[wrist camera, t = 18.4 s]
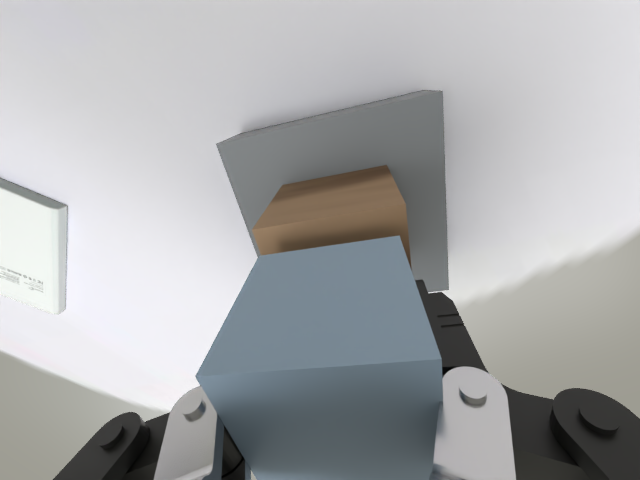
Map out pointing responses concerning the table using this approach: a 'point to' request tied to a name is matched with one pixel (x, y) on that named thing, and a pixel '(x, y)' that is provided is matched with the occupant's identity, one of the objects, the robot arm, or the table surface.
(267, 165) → the base plinth
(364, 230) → the walnut cube
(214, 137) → the table surface
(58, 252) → the external hard drive
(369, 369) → the blue cube
